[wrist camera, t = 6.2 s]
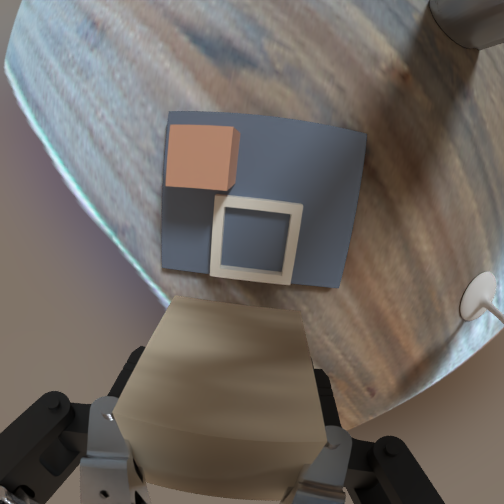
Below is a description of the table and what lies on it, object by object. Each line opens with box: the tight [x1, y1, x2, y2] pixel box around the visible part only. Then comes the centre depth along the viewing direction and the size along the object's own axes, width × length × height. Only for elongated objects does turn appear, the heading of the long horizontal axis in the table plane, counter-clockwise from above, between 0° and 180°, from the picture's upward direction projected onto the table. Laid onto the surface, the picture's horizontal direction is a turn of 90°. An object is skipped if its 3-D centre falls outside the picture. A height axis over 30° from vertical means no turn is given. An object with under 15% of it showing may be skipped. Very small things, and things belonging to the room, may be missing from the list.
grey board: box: [162, 111, 367, 288], centre depth 27 cm, size 20×17×2 cm
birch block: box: [112, 296, 327, 501], centre depth 9 cm, size 5×5×6 cm
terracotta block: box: [166, 125, 240, 191], centre depth 23 cm, size 5×5×6 cm
